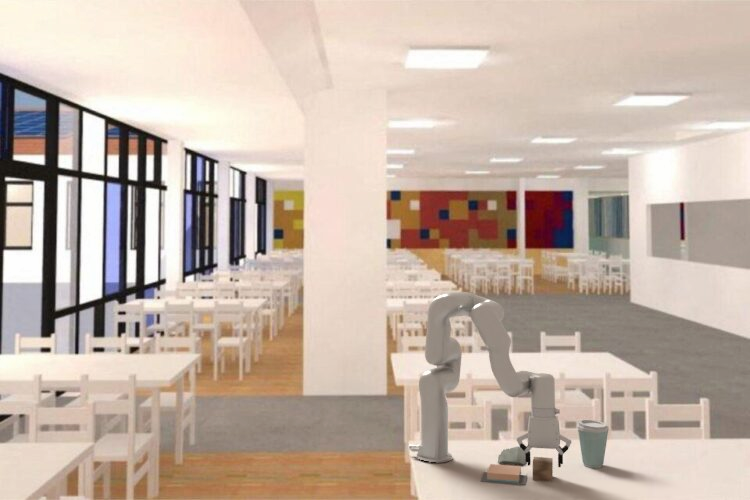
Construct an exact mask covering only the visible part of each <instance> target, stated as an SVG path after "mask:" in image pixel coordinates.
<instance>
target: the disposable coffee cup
mask: <svg viewBox="0 0 750 500" xmlns="http://www.w3.org/2000/svg"><path fill="white" fill-rule="evenodd" d="M576 425H577V426H576V429H577V432H578V433H577V434H578V440H579V445H580V452H581V460H582V463H583V465H584V466H585V467H586V468H591V469H600V468H602V467H603V465H604V461H605V454H606V448H607V442H608V435H609V431H610V430H609V426H608V425H607V423H606V422H605V423H604V422H602V421H598V420H594V419H585V418H584V419H583V418H582V419H579V420H578V423H577V424H576Z"/></svg>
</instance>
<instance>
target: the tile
mask: <svg viewBox="0 0 750 500" xmlns="http://www.w3.org/2000/svg"><path fill="white" fill-rule="evenodd" d="M486 472H487V480H491V481H502V482H514V483H519V480H520V476H521V475H522V466H520V465H504V464H495V463H490V464H489V466H488V469H487V471H486Z"/></svg>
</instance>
